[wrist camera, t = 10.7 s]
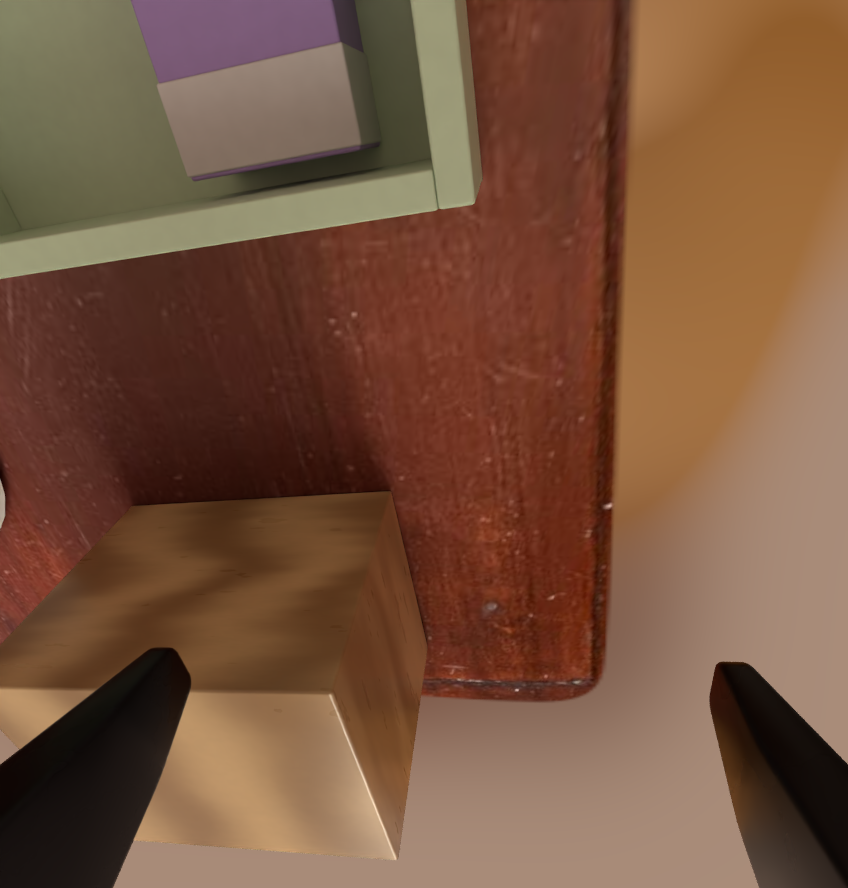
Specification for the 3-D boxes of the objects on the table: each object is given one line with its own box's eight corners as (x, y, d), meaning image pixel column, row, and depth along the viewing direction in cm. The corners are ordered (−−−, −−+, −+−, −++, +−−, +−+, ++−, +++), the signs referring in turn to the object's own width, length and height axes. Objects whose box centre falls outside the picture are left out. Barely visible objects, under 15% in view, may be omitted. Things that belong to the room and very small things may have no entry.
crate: (391, 489, 22) (331, 693, 14) (428, 646, 26) (398, 861, 19) (131, 505, 24) (-42, 687, 16) (208, 647, 29) (103, 839, 21)
